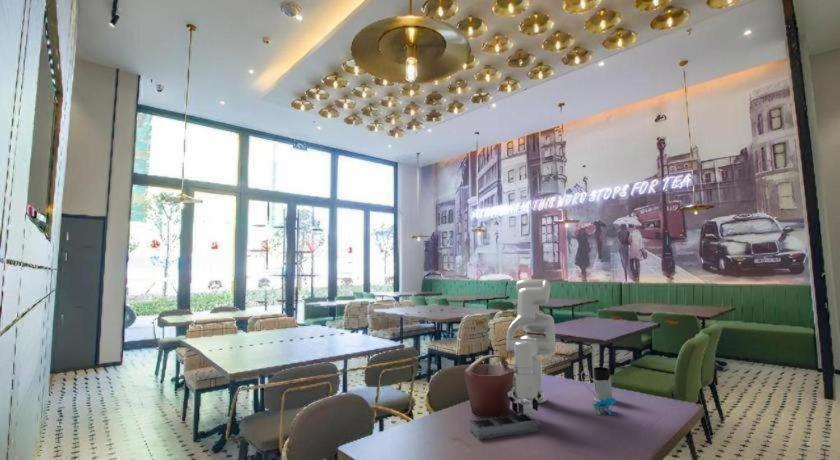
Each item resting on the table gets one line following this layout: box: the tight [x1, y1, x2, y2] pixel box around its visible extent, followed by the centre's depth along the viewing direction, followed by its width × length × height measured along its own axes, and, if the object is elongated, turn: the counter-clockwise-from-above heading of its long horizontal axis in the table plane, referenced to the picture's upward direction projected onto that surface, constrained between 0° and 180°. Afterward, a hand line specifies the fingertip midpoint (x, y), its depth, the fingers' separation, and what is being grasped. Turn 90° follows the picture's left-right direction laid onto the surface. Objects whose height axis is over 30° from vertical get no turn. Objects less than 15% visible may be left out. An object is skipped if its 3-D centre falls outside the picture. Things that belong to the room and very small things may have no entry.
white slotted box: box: [517, 400, 534, 418], centre depth 172 cm, size 4×4×7 cm
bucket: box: [463, 354, 515, 418], centre depth 184 cm, size 24×22×25 cm
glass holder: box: [580, 366, 613, 402], centre depth 196 cm, size 9×14×15 cm, turn 74°
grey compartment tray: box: [469, 413, 539, 440], centre depth 160 cm, size 26×9×4 cm, turn 105°
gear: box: [591, 396, 616, 416], centre depth 177 cm, size 11×6×10 cm
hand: (525, 410), depth 171 cm, fingers open, 9 cm apart
